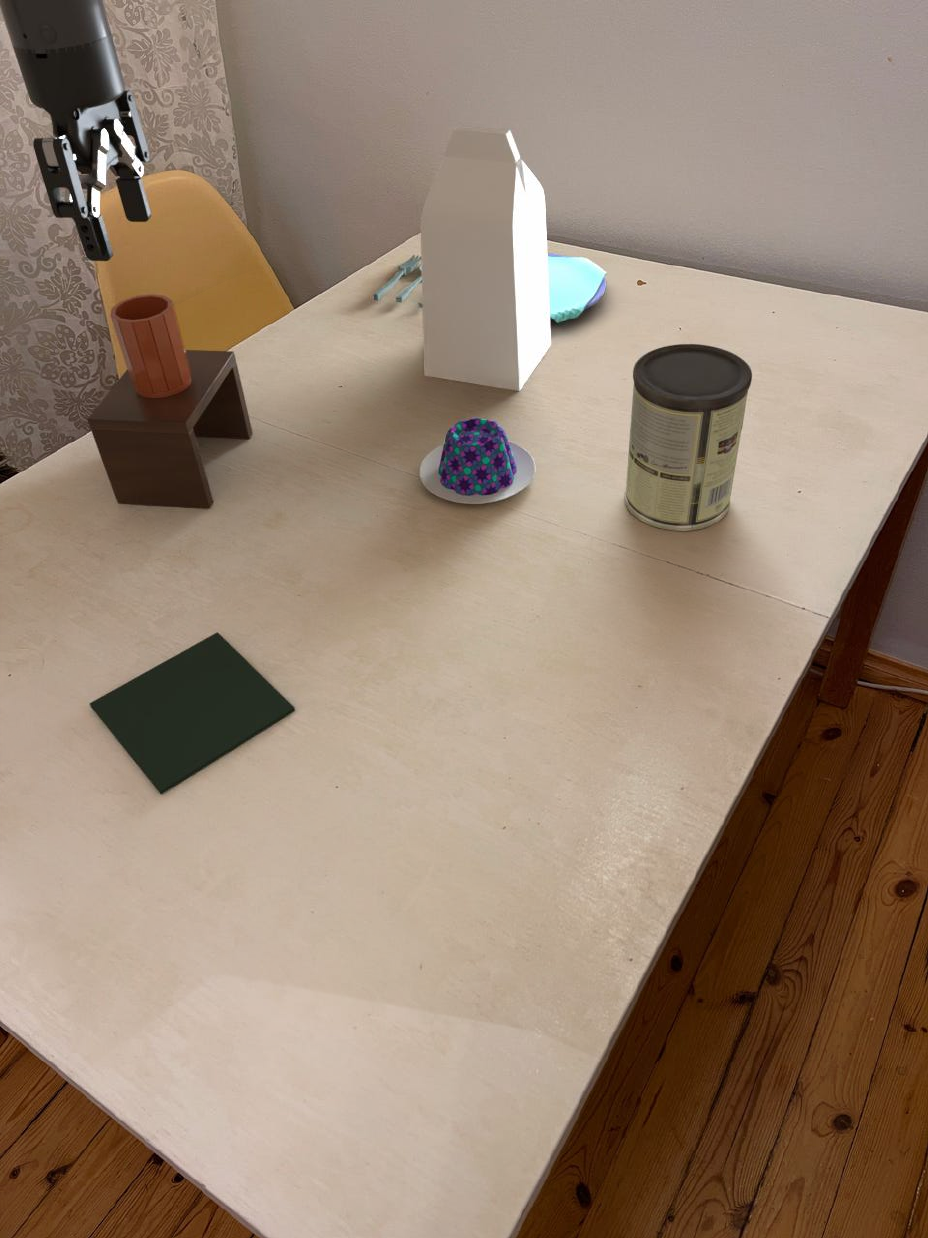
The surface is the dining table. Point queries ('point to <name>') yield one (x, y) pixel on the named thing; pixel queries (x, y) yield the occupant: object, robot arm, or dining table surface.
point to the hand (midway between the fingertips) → (121, 239)
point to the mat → (190, 711)
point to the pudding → (477, 464)
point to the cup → (152, 345)
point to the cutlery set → (567, 278)
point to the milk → (484, 264)
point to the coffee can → (685, 435)
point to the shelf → (169, 433)
